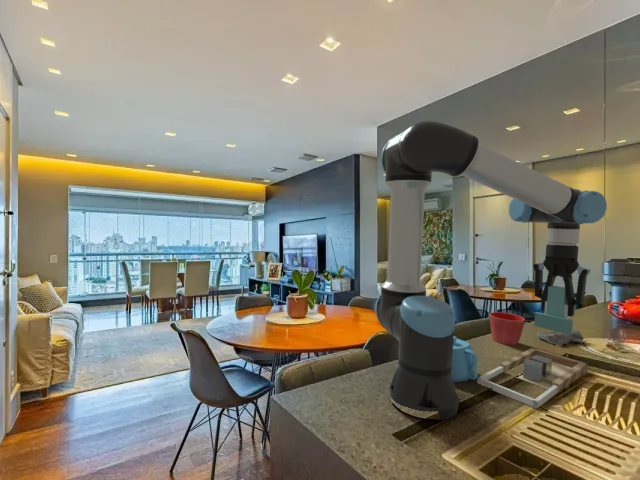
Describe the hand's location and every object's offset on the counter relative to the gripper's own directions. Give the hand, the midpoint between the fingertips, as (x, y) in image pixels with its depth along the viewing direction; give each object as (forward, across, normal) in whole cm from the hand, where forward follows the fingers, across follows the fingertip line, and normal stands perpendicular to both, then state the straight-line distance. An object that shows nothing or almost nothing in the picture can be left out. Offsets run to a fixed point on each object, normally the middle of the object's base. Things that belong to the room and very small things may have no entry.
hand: (556, 324), depth 98 cm
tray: (+13, 0, +24) cm, 27 cm away
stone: (+14, +7, -30) cm, 34 cm away
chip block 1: (+12, 0, +14) cm, 19 cm away
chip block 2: (+12, 0, +9) cm, 15 cm away
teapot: (+13, +16, +30) cm, 36 cm away
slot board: (+13, 0, +7) cm, 15 cm away
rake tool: (+1, 0, 0) cm, 1 cm away
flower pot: (+13, +18, -9) cm, 24 cm away
